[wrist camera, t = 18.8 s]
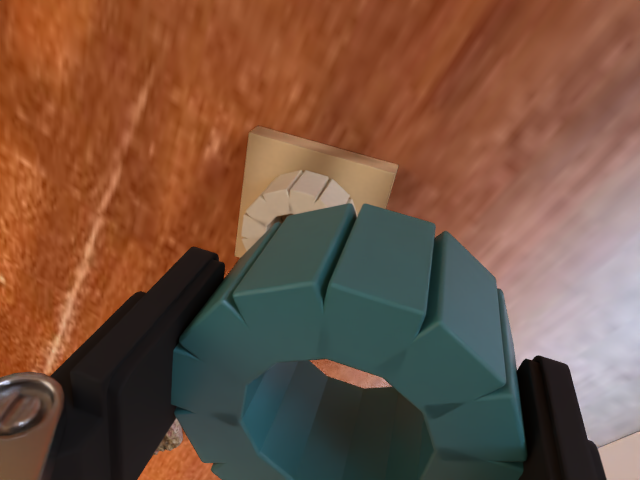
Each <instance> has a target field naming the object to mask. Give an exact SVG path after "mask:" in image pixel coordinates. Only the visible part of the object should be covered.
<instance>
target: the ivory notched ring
mask: <svg viewBox="0 0 640 480" xmlns="http://www.w3.org/2000/svg"><path fill="white" fill-rule="evenodd" d="M328 179H329V178H328V176H324V175H321V174H317V173H314V172H310V171H307V170H305V171H304V173H303V172H302V170H299V171H294V172H290V173H286V174H282V175H280V176H279V177H276V178H275V179H274V180H273V181H272V182H271V183H270V185H269V186H268V187H267V188H266V189H265V190H264V191H263V192H262V193H261V194H260V195H259V197H258V198H257V199H256V200H255V201H254V202H253V203H252V204H251V205H250V207H249V208H248V209H247V210H246V213H245V214H244V216H243V224H242V232H241V236H242V237H243V239H242V242H243V244H244V246H245V249H246V251H248V250H249V249H250V248H251V247H252V246H253V245H254V244H255V243H256V242H257V241H258V240H259V239H260V238H261V237H262V236H263V235H264V234H265V233H266V232H267V231H268V230H269V229H270V228H271V227H272V226H273V225H274V224H275V223H277V222H280V223H283V221H282V219H281V216H282V215H287V214H299V213H304V212H309V211H314V210H318V209H323V208H328V207H333V206H338V205H343V204H347V203H352V205H353V206H354V203H353V200H352V199H349V197H350V195H349V194H348V193H347V192H346V191H345V190H344V189H343V188H342V187H341V186H340V185H338V184H337V183H336V182H335V181H334V180H333V179H331V180H330V181H329V182H328ZM354 209H355V206H354ZM355 212H356V209H355ZM356 215H357V212H356ZM357 216H358V215H357Z"/></svg>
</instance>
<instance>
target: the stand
mask: <svg viewBox="0 0 640 480" xmlns="http://www.w3.org/2000/svg"><path fill="white" fill-rule="evenodd" d="M398 167H399V165H397V164H393V163H390V162H386V161H383V160H379V159H375V158H372V157H368V156H365V155H361V154H358V153H354V152H350V151H347V150H343V149H340V148H336V147H332V146H329V145H325V144H322V143H318V142H315V141H311V140H307V139H304V138H300V137H297V136H293V135H290V134H286V133H282V132H279V131H275V130H272V129H268V128H264V127H261V126H257V127H255V128H254V129H253V130H252V131H250V132H249V135H248V144H247V153H246V161H245V170H244V179H243V187H242V196H241V204H240V213H239V222H238V230H237V239H236V248H235V256H236V257H239V258H241V257H242V256H243V255H244V254H245V253H246V252H247V251H246V249H245V246H244V244H243V242H242V239H243V237H242V236H241V232H242V224H243V216H244V214H245V213H246V210H247V209H248V208H249V207H250V205H251V204H252V203H253V202H254V201H255V200H256V199H257V198H258V197H259V195H260V194H261V193H262V192H263V191H264V190H265V189H266V188H267V187H268V186H269V185H270V183H271V182H272V181H273V180H274V179H275V178H276V177H279V176H280V175H282V174H286V173H290V172H294V171H299V170H302V172H303V173H304V171H305V170H307V171H310V172H314V173H317V174H321V175H324V176H328V178H329V179H328V182H329V181H330V180H331V179H333V180H334V181H335V182H336V183H337V184H338V185H340V186H341V187H342V188H343V189H344V190H345V191H346V192H347V193H348V194H349V195H350V197H349V199H352V200H353V203H354V206H355V209H356V212H357V215H358V214H359V212H360V209H361V207H362V205H363V204H370V205H373V206H376V207H380V208H383V209H386V207H387V204H388V200H389V197H390V194H391V190H392V187H393V183H394V180H395V177H396V173H397V170H398ZM289 215H294V214H287V215H282V216H281V219H282V221H283V222H284V220H285V219H286V217H288V216H289Z"/></svg>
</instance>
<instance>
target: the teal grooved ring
mask: <svg viewBox="0 0 640 480" xmlns="http://www.w3.org/2000/svg"><path fill="white" fill-rule="evenodd" d="M435 229H436V226H435V224H434V223H431V222H428V221H424V220H421V219H418V218H414V217H411V216H407V215H404V214H400V213H397V212H394V211H390V210H387V209H383V208H380V207H376V206H373V205H370V204H363V205H362V207H361V209H360V212H359V214H358V216H357V215H356V212H355V209H354V206H353V205H352V203H347V204H343V205H338V206H333V207H328V208H323V209H318V210H314V211H309V212H304V213H299V214H294V215H289V216H288V217H286V219H285V220H284V222H283V223H280V222H277V223H275V224H274V225H273V226H272V227H271V228H270V229H269V230H268V231H267V232H266V233H265V234H264V235H263V236H262V237H261V238H260V239H259V240H258V241H257V242H256V243H255V244H254V245H253V246H252V247H251V248H250V249H249V250H248V251H247V252H246V253H245V254H244V255H243V256H242V257H241V258H240V259H239V260H238V262H237V263H236V264H235V266H234V267H233V268H232V269H231V271H230V272H229V273H228V275H227V276H226V277H225V279H224V280H223V281H222V282H221V284H220V285H219V286H218V288H217V289H216V290H215V292H214V293H213V294H212V295H211V297H210V298H209V299H208V301H207V302H206V303H205V305H204V306H203V307H202V308H201V310H200V311H199V312H198V314H197V315H196V316H195V317H194V319H193V320H192V321H191V323H190V324H189V325H188V327H187V328H186V329H185V330H184V332H183V333H182V334H181V336H180V338H179V343H178V345H177V346H176V347H175V349H174V350H173V366H172V387H171V404H172V405H174V406H177V407H176V409H175V410H174V415H175V416H176V418H177V420H178V422H179V423H180V425H181V427H182V428H183V430H184V432H185V433H186V435H187V437H188V439H189V440H190V442H191V444H192V445H193V447H194V449H195V451H196V452H197V454H198V456H199V457H200V459H201V461H202V462H204V463H213V465H212V468H211V471H212V472H213V473H214V474H215V475H216V476H218V477H219V478H220V479H222V480H518V479H519V478H520V476H521V475H522V473H523V469H524V468H523V462H524V461H526V460H527V457H528V452H527V444H526V436H525V429H524V421H523V413H522V406H521V398H520V391H519V383H518V375H517V368H516V360H515V352H514V345H513V339H512V334H511V329H510V324H509V319H508V314H507V309H506V305H505V300H504V295H503V292H502V290H501V289H498V288H497V285H496V279H495V277H494V276H493V275H492V274H491V273H490V272H489V271H488V270H487V269H486V268H485V267H484V266H483V265H482V264H481V263H480V262H479V261H478V260H477V259H476V258H475V257H474V256H472V255H471V254H470V253H469V252H468V251H467V250H466V249H465V248H464V247H463V246H462V245H461V244H460V243H459V242H458V241H457V240H456V239H455V238H454V237H453V236H452V235H451V234H450V233H449V232H447V231H444V232H442V233H441V234H440V235H438V236H437V237H436V238H435ZM319 359H328V360H331V361H334V362H337V363H340V364H343V365H346V366H349V367H352V368H355V369H358V370H361V371H364V372H367V373H370V374H373V375H376V376H379V377H382V378H383V379H385V380H386V381H387V382H388V383H389V384H390V385H391V386H393V387H382V388H366V389H364V388H361V387H358V386H355V385H352V384H349V383H346V382H343V381H340V380H337V379H334V378H331V377H328V376H326V375H325V374H324V373H323V372H322V371H321V370H319V369H318V368H317V367H316V366H315V365H314V364H312V363H311V362H310V361H309V360H319Z"/></svg>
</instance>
